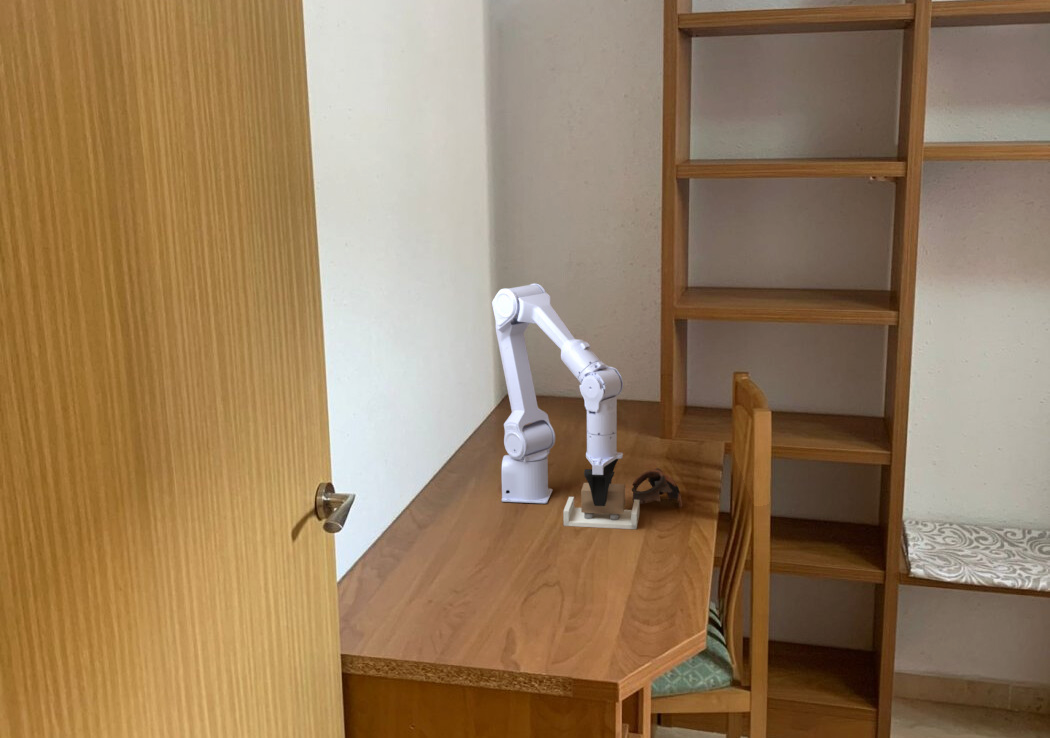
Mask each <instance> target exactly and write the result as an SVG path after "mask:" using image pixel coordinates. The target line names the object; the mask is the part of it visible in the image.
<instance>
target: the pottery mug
mask: <svg viewBox="0 0 1050 738" xmlns="http://www.w3.org/2000/svg"><path fill="white" fill-rule="evenodd" d="M645 481H648V483H649V484H650V487H651V488H648V489H646V490H643V491H642V490H637V489H638V487H639V486H640V485H641V484H643V482H645ZM632 486H633V487H632V488H631V491H632V502H633V504H634V500H639V505H640V504H641V505H644V504H649V503H652V502H659V503H661V502H662V501H661V500H662V499H661V496H660V495H664V494H667V499H668V500H675V501H677V502H678V507H679V508H681V509H682V508H683V500H682V495H681V492H680V488H679V486H678V485H677V483H676V481H675V480H674V479H673V478H672V477H671V476H669V475H667V474H665V473H664V472H663V471H662V469H661V468H658V467H657V468H655V469H651V470H647V471H645V472H643V473H641V474H640V475H639V476H637V477H636V478H635V480H633V482H632Z"/></svg>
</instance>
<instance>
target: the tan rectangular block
mask: <svg viewBox="0 0 1050 738" xmlns="http://www.w3.org/2000/svg"><path fill="white" fill-rule="evenodd" d="M625 490H626V484H623V483H611V484H609V488H608V495H607V501H606V504H605V506H594V503H593V499H592V494H591V489H590V486H589V483H588V482H583V484H582V487H581V491H580V492H581V493H580V495H581V496H580V498H581V499H580V502H581V504H580V505H581V507H580V508H581V513H603V514H623V512H624V510H625V507H626V502H625V501H626V491H625Z"/></svg>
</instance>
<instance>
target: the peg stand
mask: <svg viewBox="0 0 1050 738" xmlns="http://www.w3.org/2000/svg"><path fill="white" fill-rule="evenodd" d="M562 513H563V516H562V517H563V526H564V527H579V528H580V527H581V528H585V527H586V528H601V529H603V528H604V529H623V530H637V528H638V523H639V518H640V504H639V500H634V503H633V505H632V509H624V512H623V514H603V513H581V507H575V496H568V498H567V501H566V504H565V506H564V509H563V512H562Z"/></svg>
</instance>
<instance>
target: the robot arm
mask: <svg viewBox="0 0 1050 738" xmlns="http://www.w3.org/2000/svg"><path fill="white" fill-rule="evenodd" d="M491 305H492V309H493V314H494V320H495V333H496V339H497V343H498V348H499V353H500V359H501V363H502V368H503V374H504V378H505V384H506V389H507V394H508V398H509V400H508V401H509V403H510V409H511V413H510V415H509V416H508V418H507V419H506V420H505V422H504V423H503V428H504V436H503V437H504V438H503V444H504V448H505V451H506V452H507V454H505V455H503V457H502V461H501V502H503V503H504V502H505V503H522V504H523V503H525V504H528V503H529V504H548V502H549V499H550V498H551V495H552V493H553V489H552V488H550V487H549V474H548V473H549V471H548V470H549V469H548V468H549V467H548V464H549V459H548V455H550V453H551V449H552V448H553V447H554V445H555V442H556V432H555V430H554V428H553V425H552V424H551V422H550V419H549V415H548V413H547V412H545V411H544V410H542V409H540V407H539V405H538V401H537V395H536V391H535V386H534V381H533V376H532V370H531V366H530V361H529V355H528V354H529V353H528V351H527V350H528V349H527V346H526V345H527V344H526V340H525V334H524V333H525V331H526V329H528V328H529V327H528V326H529V325H530V324H536V325H537V327H539V328H540V330H542V332H543V333H544V334H545V335H546V336H547V337H548V338H549V339H550V340H551V341H552V342H553V343H554V344H555V345H556V346H557V347H558V348H559V349H560V359H561V361H562V362H563V363H564V365H565V366H566V367H567V368H568V370H569V372H571V373H572V375H573V376H574V377H575V378H576V379H577V381H578V382H579V383H580V384H579V391H580V394H581V397H583V400H584V408H585V410H586V452H585V458H586V459H587V460H588V462H589V463H590V464H591V467H592V468H589V469H588V468H585V469H584V471H583V474H584V478H585V479H586V481H587V483H589V486H590V489H591V494H592V499H593V503H594V506H605V504H606V501H607V495H608V488H609V484H612V480H613V477H614V476H615V471H614V469H615V467H616V465H617V462H618V461H619V460H620V459H623V457H624V452H621V451H617V448H618V447H617V446H618V445H617V442H618V441H617V439H618V438H617V435H618V431H617V430H618V428H617V423H618V422H617V418H618V416H617V413H618V411H617V405H618V403H617V398H618V396H619V395H620V394H621V393H622V391H623V388H624V381H623V377H622V375H621V373H620V372H619V369H617V368H615V367H614V366H609V365H607V364H606V363H604V362H603V361H602V360H601V359H600V358H599V357H598V356H597V355H596V353H595V352H594V351H593V349H591V345H590V344H589V342H587V341H585V340H584V339H578V338H577V339H576V338H575V337H574V335H573V334H572V333H571V332H570V330H569V329H568V327H567V325H566V324H565V323H564V321H563V320H562V319H561V317H560V316H559V314H558V313H557V312H556V310H555V309H554V308H553V306H552V298H551V295H549V294H548V292H546V289H545V288H544V286H542V285H541V284H538V283H530V284H527V285H521V286H516V287H511V288H510V287H509V288H501V289H499V291H498V292H497V293H496V294H495V296H494V298H493V300H492V301H491Z"/></svg>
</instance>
